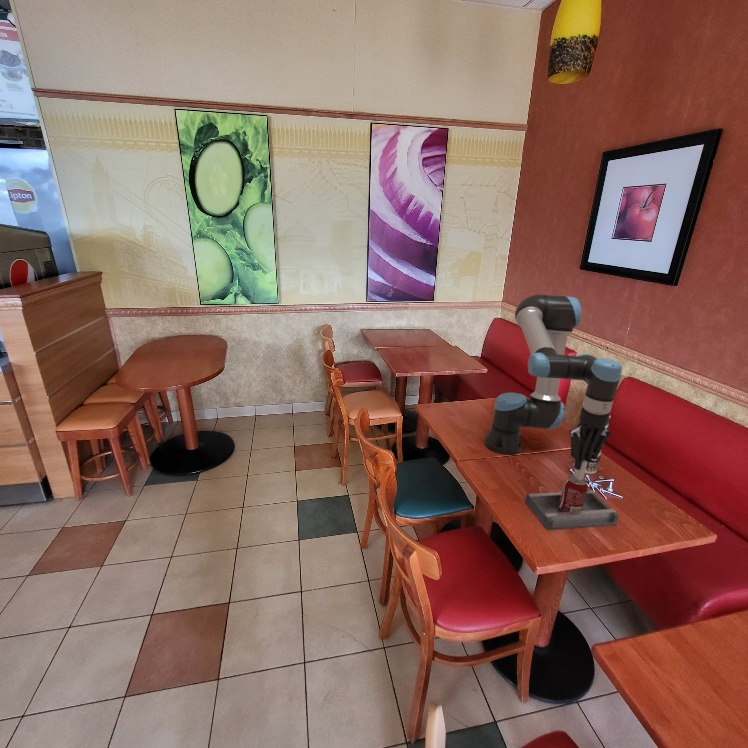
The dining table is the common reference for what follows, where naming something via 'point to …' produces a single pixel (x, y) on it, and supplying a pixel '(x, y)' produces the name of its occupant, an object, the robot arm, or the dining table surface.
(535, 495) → the tray
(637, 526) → the dining table surface
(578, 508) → the soda can
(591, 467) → the decorative candle
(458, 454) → the dining table surface
